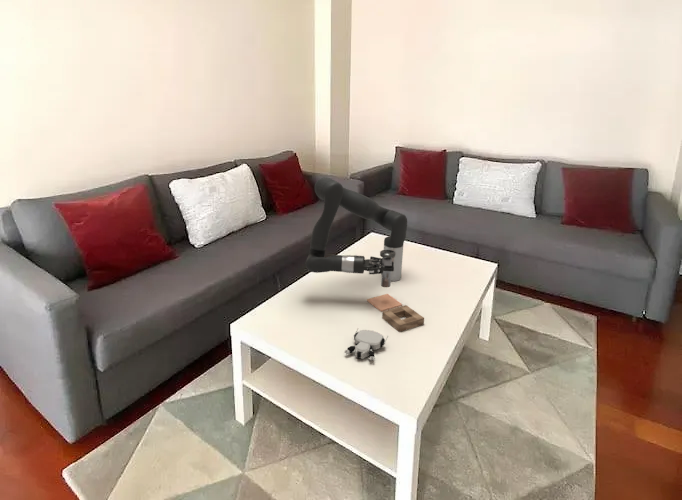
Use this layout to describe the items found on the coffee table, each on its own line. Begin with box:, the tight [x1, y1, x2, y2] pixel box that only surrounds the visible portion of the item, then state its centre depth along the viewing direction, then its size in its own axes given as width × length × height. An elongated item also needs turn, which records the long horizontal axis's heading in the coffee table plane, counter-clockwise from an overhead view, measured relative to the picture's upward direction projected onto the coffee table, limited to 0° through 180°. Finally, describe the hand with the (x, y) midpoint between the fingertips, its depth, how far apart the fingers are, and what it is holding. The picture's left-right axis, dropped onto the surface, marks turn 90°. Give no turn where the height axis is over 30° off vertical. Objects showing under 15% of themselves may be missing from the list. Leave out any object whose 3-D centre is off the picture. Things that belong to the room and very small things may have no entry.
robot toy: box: [344, 327, 389, 361], centre depth 168 cm, size 12×4×15 cm
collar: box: [381, 304, 425, 333], centre depth 187 cm, size 12×12×3 cm
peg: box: [379, 249, 396, 288], centre depth 195 cm, size 6×6×15 cm
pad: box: [366, 293, 403, 313], centre depth 201 cm, size 11×11×1 cm
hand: (393, 266), depth 194 cm, fingers closed on peg, 4 cm apart
